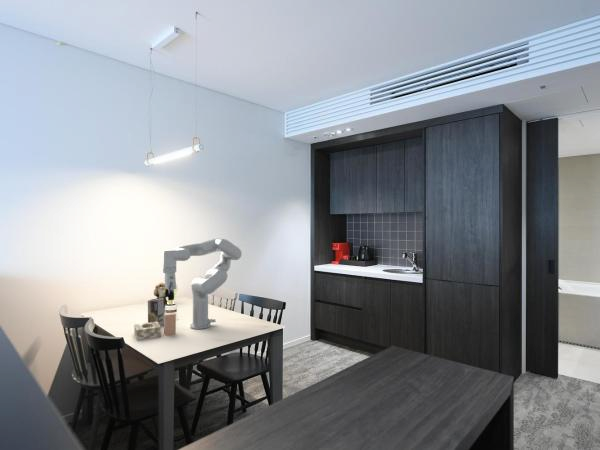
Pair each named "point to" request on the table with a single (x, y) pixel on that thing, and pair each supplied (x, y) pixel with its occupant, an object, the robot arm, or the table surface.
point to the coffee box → (156, 311)
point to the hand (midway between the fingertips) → (169, 298)
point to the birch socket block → (147, 330)
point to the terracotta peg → (169, 324)
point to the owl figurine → (160, 292)
